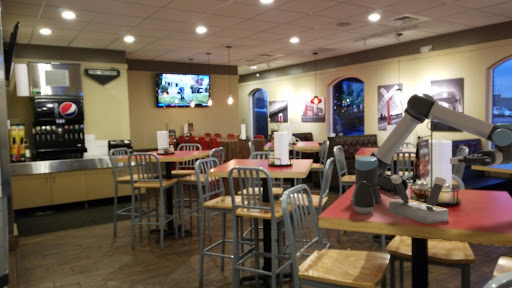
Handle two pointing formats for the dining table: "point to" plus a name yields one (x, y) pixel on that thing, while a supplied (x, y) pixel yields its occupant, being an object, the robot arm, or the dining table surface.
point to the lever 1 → (400, 187)
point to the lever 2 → (435, 192)
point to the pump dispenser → (364, 198)
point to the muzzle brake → (390, 183)
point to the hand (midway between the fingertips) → (451, 161)
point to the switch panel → (418, 211)
